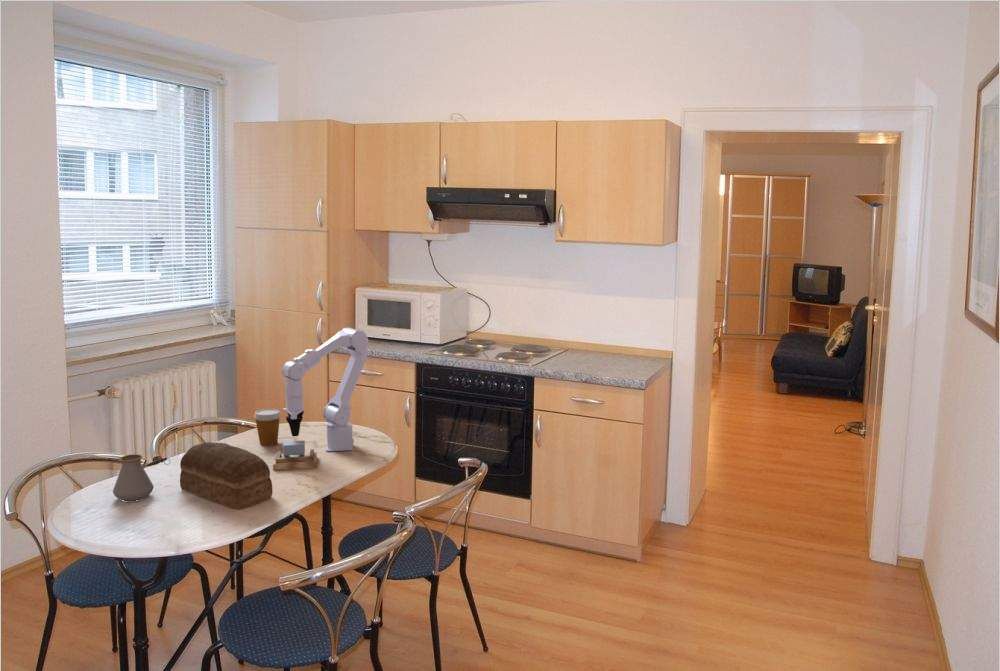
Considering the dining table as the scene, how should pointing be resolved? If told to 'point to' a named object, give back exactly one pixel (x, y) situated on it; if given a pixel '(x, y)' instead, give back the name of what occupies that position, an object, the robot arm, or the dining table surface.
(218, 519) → the dining table surface
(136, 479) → the coffee pot
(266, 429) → the disposable coffee cup
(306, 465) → the dock
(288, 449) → the blue block with feet
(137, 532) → the dining table surface
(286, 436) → the dining table surface
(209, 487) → the bread
